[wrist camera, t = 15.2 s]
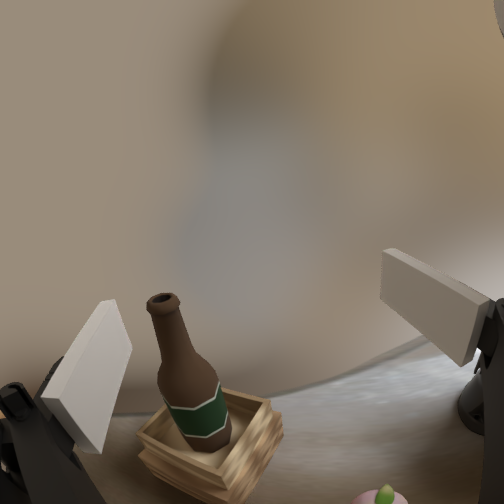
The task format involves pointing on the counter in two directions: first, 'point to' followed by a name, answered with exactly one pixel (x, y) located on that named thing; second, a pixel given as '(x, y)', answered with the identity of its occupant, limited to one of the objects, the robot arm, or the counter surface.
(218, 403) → the beer bottle
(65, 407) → the robot arm
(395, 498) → the decorative fruit
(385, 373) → the counter surface
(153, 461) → the base crate
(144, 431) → the top crate
